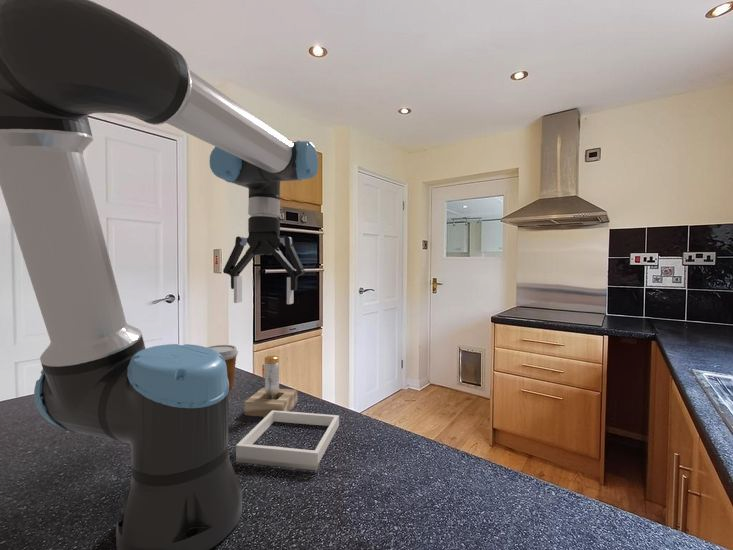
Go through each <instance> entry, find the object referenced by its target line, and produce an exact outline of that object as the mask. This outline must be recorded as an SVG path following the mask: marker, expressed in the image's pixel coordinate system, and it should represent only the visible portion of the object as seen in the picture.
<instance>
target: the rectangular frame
mask: <svg viewBox="0 0 733 550" xmlns="http://www.w3.org/2000/svg"><path fill="white" fill-rule="evenodd" d="M274 422H275V423H276V422H277V423H279V422H280V423H288V424H289V423H291V424H300V425H312V426H326V427H327V429H326V431H325V432H324V434H323V436H322V438H321V439H320V441H319V442H318V444H317V446H316V448H315V449H314V450H313V449H312V450H311V449H304V448H303V449H301V448H294V447H293V448H292V447H282V446H272V445H264V444H263V445H262V444H260V445H259V444H254V443H255V442H256V441H257V440H258V439H259V438H260V437H261V436H262V435H263V434H264V433H265V431H267V429H268V428H269V427H270V426H271V425H272V424H273V423H274ZM339 426H340V415H336V414H325V413H312V412H300V411H299V412H298V411H289V412H288V411H276V410H272V411H271V412H270V413H269V414H268V415H267V416H266V417H263V419H262V420H260V421H259V423H258V424H256V425H255V426H254V427H253V428H252V429H251V430H250V431H249V432H248V433H247V434H246V435H245V436H244V437H243V438H242V439H241V440H240V441H239V442H237V444H236V445H235V463H243V464H251V465H253V464H254V465H259V466H270V467H281V468H289V469H298V470H299V469H300V470H307V471H308V470H310V471H319V469H320V467H321V465H322V463H320V462H321V460H322V458H323V456H324V454H325V453H326V451H327V450H328V446H329V445H330V443H331V441H332V439H333V437H334V436H335V434H336V432H337V430H338V428H339Z"/></svg>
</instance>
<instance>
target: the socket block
mask: <svg viewBox="0 0 733 550" xmlns="http://www.w3.org/2000/svg"><path fill="white" fill-rule="evenodd" d="M297 403H298V389H289V388H279V398H278V399H277V400H273V399H265V387H261V388H260V389H259V390H258V391H256V392H255V393H254V394H252V395H251V396H250V397H249V398H247V399H246V400H244V416H251V417H263V418H265V417H266V416H267V415H268V414H269V413H270V412H271V411H272V410H276V411H288V412H291V410H292V409H293V408H294V406H296V404H297Z"/></svg>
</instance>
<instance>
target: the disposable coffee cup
mask: <svg viewBox="0 0 733 550" xmlns="http://www.w3.org/2000/svg"><path fill="white" fill-rule="evenodd" d="M207 348H210V349H213V350H215V351H217V352H218V353H220V354H221V355H222V356H223V358H224V359H225V362H226V366H227V377H228V380H229V391H228V392H230V391H232V390H233V388H234V378H235V370H236V361H237V356H238V354H239V351H238V350H237V347H236V346H235V345H230V344H217V345H211V346H207Z"/></svg>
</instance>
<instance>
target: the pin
mask: <svg viewBox="0 0 733 550" xmlns="http://www.w3.org/2000/svg"><path fill="white" fill-rule="evenodd" d="M264 388H265V399H273V400H277V399H278V398H279V389H280V356H278V355H268V356H265V357H264Z"/></svg>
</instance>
